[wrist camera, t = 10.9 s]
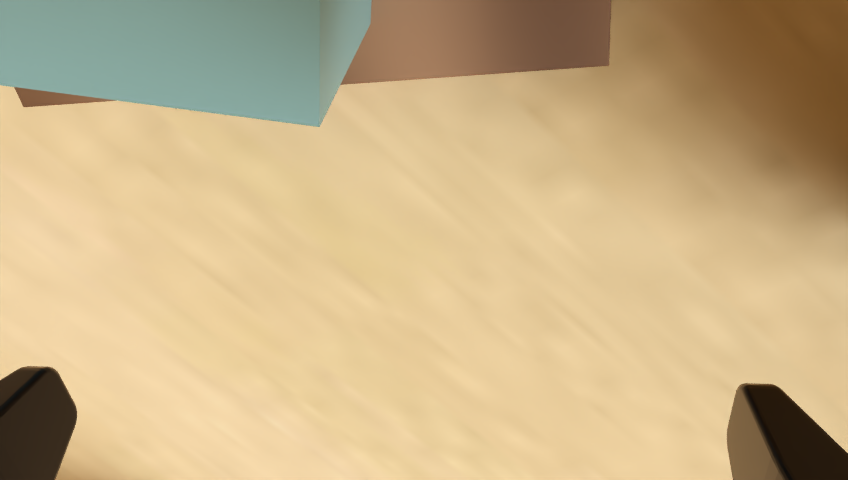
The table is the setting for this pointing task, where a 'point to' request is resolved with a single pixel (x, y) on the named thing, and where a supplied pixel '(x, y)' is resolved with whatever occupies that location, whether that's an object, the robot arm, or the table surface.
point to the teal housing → (187, 52)
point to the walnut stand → (458, 41)
